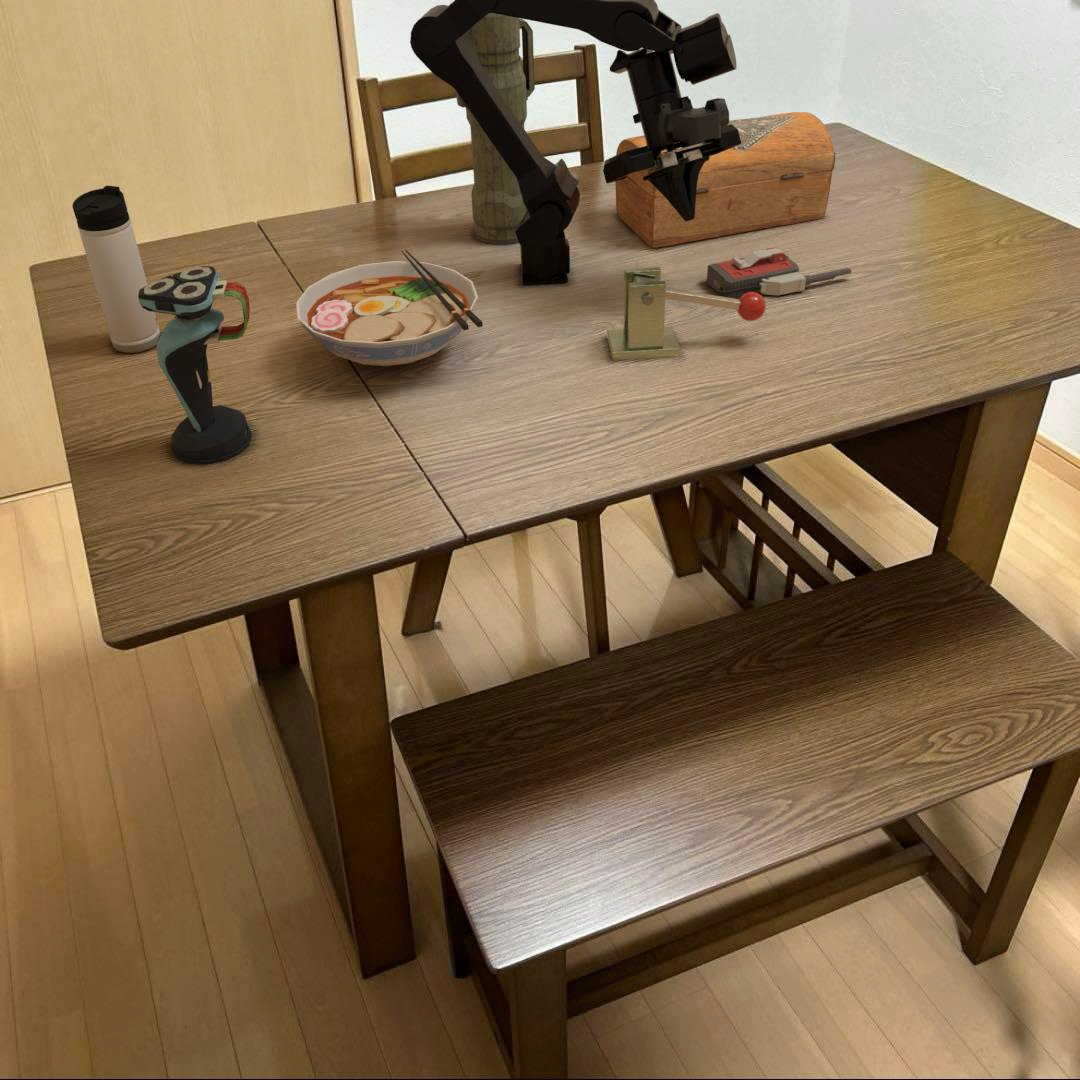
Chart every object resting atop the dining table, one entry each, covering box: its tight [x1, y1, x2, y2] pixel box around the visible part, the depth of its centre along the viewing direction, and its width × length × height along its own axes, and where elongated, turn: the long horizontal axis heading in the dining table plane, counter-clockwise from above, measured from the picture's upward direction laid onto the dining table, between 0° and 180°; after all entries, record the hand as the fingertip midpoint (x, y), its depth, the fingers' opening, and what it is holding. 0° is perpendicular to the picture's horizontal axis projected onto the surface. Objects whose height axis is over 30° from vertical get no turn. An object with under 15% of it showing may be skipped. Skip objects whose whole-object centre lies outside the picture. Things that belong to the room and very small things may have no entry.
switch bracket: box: [606, 266, 681, 361], centre depth 141 cm, size 8×6×10 cm
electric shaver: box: [138, 265, 253, 465], centre depth 124 cm, size 9×12×20 cm
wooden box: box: [614, 111, 836, 248], centre depth 173 cm, size 30×16×14 cm, turn 109°
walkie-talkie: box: [706, 247, 852, 299], centre depth 157 cm, size 9×4×20 cm
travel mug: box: [71, 185, 161, 354], centre depth 143 cm, size 6×7×20 cm
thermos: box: [454, 13, 536, 245], centre depth 164 cm, size 9×12×35 cm
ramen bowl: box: [295, 249, 483, 367], centre depth 143 cm, size 25×23×8 cm
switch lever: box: [633, 276, 767, 322], centre depth 141 cm, size 17×4×4 cm, turn 95°
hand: (689, 220), depth 146 cm, fingers closed
